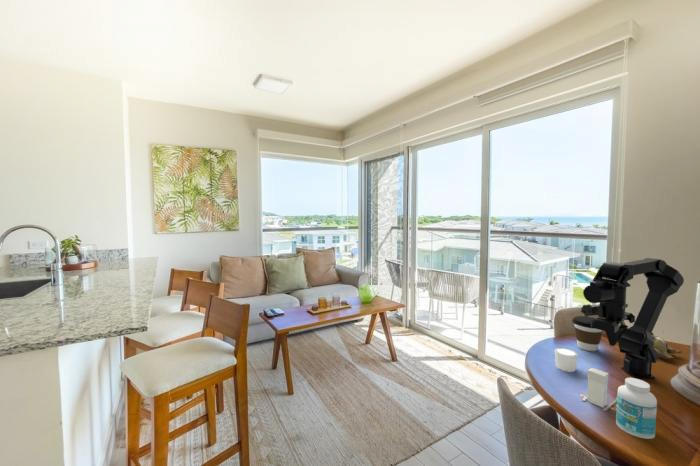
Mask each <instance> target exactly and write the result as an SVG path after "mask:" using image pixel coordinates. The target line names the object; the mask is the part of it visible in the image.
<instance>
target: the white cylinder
mask: <svg viewBox="0 0 700 466" xmlns="http://www.w3.org/2000/svg"><path fill="white" fill-rule="evenodd" d="M554 356H555V357H554V359H555V361H554V362H555V366H556V368H557V369H558V370H561V371H564V372H568V373H573V372H575V371H576V370H577V363H578V358H579V354H578V352H576V351H575V350H572V349H570V348H564V347H556V348H555V349H554Z"/></svg>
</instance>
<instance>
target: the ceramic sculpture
mask: <svg viewBox="0 0 700 466" xmlns="http://www.w3.org/2000/svg"><path fill="white" fill-rule="evenodd" d="M651 335H652V338H653V341H654V346H653V348H654V349H655V351H656V352H657V353H658V354H659V357H658V358H660V359H666V360H675V358H676V357H673V356H672V354H673V355H676V354H682V353H683V351H680V350H675V349H674V348H672V347H670V346H669V345H668V342H667V341H666V340H665V339H664V338H662V337H659V336H657V335H655V333H654V332H652V333H651Z"/></svg>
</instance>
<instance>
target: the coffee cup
mask: <svg viewBox="0 0 700 466" xmlns="http://www.w3.org/2000/svg"><path fill="white" fill-rule="evenodd" d="M594 319H597V317H596V318H594V317H592V316H585V315H584V316H582V315H581V316H580V315H578V316H576V315H575V316H573V318H572V320H571V322H572V323H573V324H574V325H573V328H574V334H575V335H574V336H575V339H576V342H577V346H578V348H580V349H581V350H583V351H586V352H587V351H588V352H596V351H597V350H599V345H600V343H601V339H602V335H603V332H604V331H603V330H599V329H595V328H592V327H591V321H593V320H594Z"/></svg>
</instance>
